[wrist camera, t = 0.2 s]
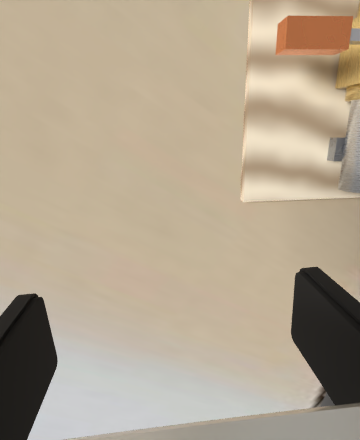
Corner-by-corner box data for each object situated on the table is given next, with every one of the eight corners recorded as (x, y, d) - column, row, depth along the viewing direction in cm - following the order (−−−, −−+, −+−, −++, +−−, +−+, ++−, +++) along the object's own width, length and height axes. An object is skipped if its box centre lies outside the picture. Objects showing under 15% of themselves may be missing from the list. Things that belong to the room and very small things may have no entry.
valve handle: (277, 24, 27) (288, 15, 25) (427, 25, 28) (449, 17, 26) (275, 55, 28) (285, 49, 26) (421, 55, 29) (441, 49, 27)
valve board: (254, -103, 31) (259, -114, 30) (472, -94, 33) (486, -104, 32) (240, 199, 42) (243, 202, 40) (407, 193, 44) (415, 195, 42)
